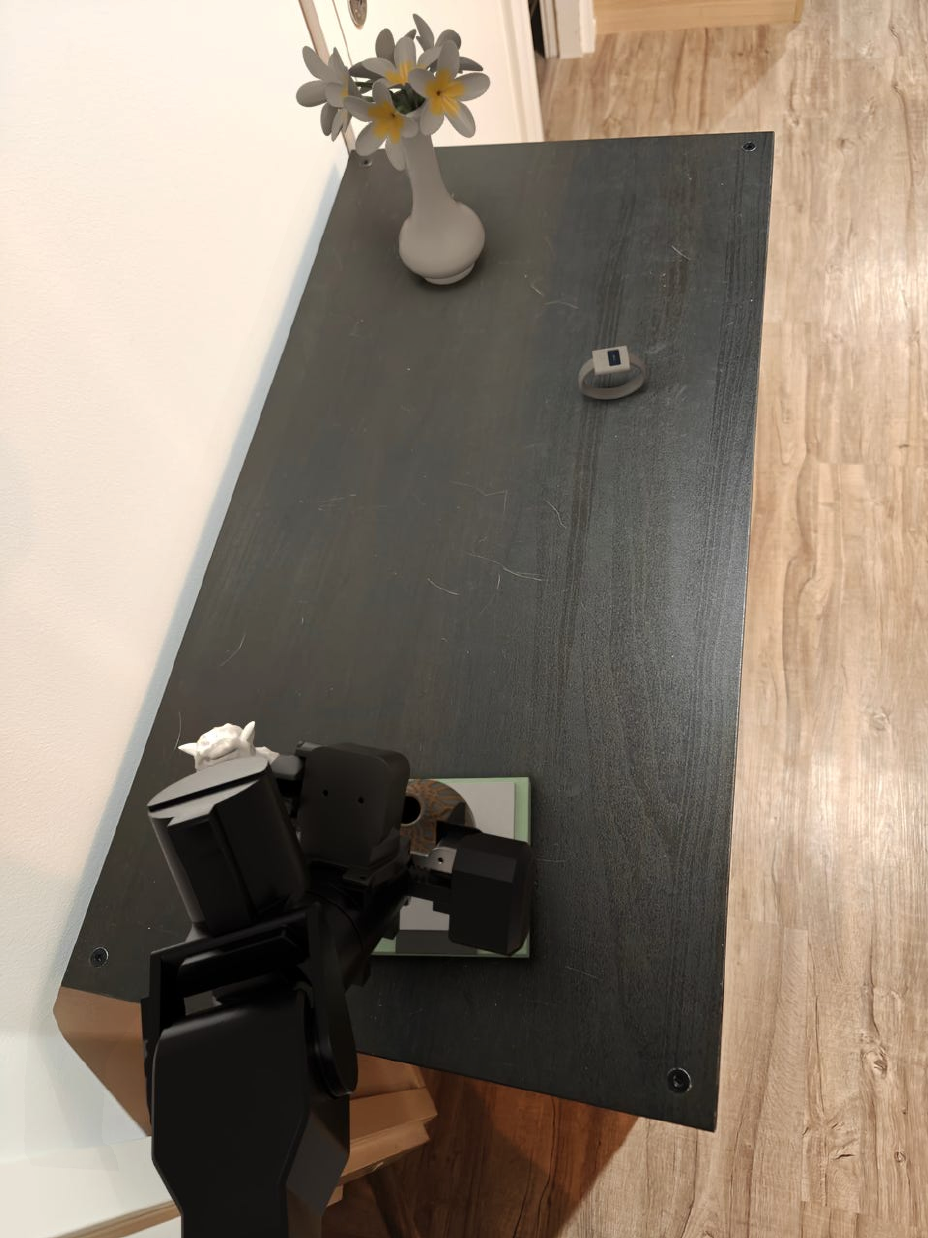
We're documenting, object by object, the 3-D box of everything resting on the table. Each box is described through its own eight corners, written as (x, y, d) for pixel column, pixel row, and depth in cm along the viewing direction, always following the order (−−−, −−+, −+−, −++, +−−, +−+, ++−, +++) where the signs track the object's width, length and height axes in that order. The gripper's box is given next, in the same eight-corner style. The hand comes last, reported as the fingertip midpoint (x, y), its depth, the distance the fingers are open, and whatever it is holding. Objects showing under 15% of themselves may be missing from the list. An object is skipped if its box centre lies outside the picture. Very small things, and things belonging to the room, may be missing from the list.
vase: (374, 880, 66) (336, 847, 59) (407, 788, 69) (376, 745, 62) (466, 909, 64) (439, 878, 57) (496, 813, 67) (475, 772, 59)
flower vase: (380, 223, 108) (309, -2, 87) (536, 228, 103) (502, -10, 82) (345, 306, 103) (260, 89, 81) (507, 316, 98) (463, 86, 76)
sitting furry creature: (229, 878, 75) (159, 838, 65) (203, 784, 79) (134, 732, 69) (338, 828, 75) (286, 780, 65) (306, 736, 80) (253, 678, 69)
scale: (529, 959, 68) (525, 955, 66) (355, 956, 70) (347, 952, 69) (531, 783, 74) (528, 775, 72) (371, 786, 76) (364, 778, 75)
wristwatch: (582, 410, 90) (578, 374, 86) (579, 388, 92) (575, 352, 87) (647, 400, 90) (646, 363, 85) (643, 378, 91) (642, 341, 87)
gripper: (499, 838, 42) (571, 709, 56) (143, 762, 47) (290, 662, 62) (486, 1040, 46) (557, 871, 60) (154, 949, 51) (292, 813, 65)
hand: (420, 799), depth 62 cm, fingers closed on vase, 5 cm apart
